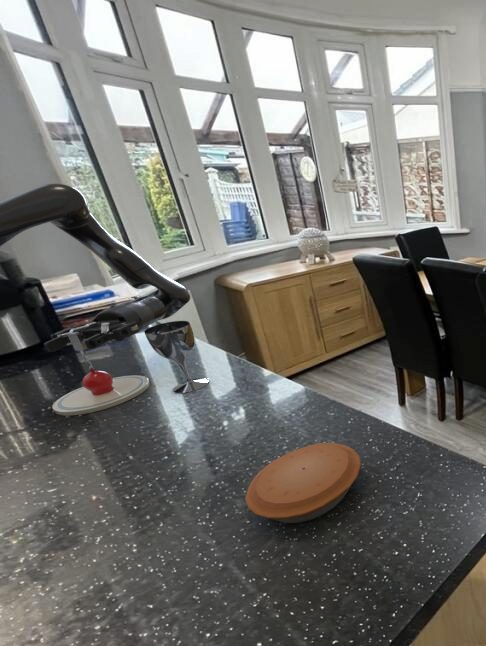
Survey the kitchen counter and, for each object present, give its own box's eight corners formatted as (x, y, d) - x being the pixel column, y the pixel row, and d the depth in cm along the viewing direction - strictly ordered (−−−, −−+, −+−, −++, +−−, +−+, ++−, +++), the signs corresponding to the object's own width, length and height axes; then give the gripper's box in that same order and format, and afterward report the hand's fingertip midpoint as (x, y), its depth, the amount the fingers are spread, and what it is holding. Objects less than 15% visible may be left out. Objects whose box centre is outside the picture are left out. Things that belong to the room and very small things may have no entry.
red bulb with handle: (106, 395, 88) (75, 336, 82) (82, 397, 87) (49, 338, 82) (122, 385, 92) (94, 328, 87) (99, 387, 92) (69, 329, 86)
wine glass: (218, 381, 95) (196, 324, 89) (179, 397, 88) (153, 336, 82) (202, 374, 98) (180, 318, 92) (164, 389, 92) (137, 330, 86)
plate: (39, 424, 80) (36, 419, 80) (72, 389, 93) (70, 385, 93) (139, 402, 87) (137, 397, 87) (157, 372, 100) (155, 369, 100)
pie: (226, 531, 54) (214, 504, 52) (297, 457, 68) (289, 433, 66) (329, 542, 52) (321, 515, 50) (380, 463, 66) (375, 439, 64)
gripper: (86, 307, 95) (19, 332, 80) (151, 303, 97) (97, 327, 82) (100, 335, 98) (38, 365, 83) (163, 331, 100) (113, 359, 85)
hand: (68, 346), depth 83 cm, fingers open, 7 cm apart
